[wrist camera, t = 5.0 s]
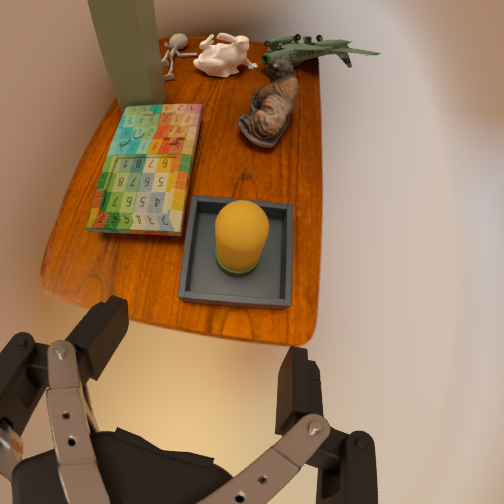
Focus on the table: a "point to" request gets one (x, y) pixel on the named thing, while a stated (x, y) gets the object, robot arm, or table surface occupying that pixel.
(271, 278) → the basket
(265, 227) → the corn toy
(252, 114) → the cat statue
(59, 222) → the table surface
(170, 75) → the figurine
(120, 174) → the puzzle game
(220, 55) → the rabbit figurine
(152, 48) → the plinth
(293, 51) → the airplane
